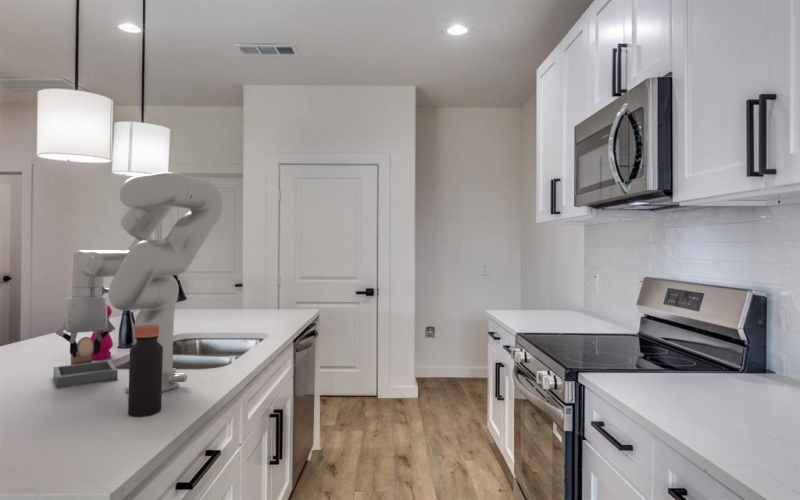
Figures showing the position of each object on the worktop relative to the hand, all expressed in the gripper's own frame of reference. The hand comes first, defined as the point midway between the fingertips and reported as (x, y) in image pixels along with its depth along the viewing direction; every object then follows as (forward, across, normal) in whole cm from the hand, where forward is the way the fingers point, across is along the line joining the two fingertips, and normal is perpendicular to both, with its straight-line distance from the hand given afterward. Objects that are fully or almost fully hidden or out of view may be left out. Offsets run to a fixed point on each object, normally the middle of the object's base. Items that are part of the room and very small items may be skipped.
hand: (85, 354), depth 131 cm
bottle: (+6, -8, +41) cm, 42 cm away
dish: (+7, 0, 0) cm, 7 cm away
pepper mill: (+7, -7, -26) cm, 28 cm away
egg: (+1, 0, 0) cm, 1 cm away
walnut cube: (+7, -1, -16) cm, 17 cm away
